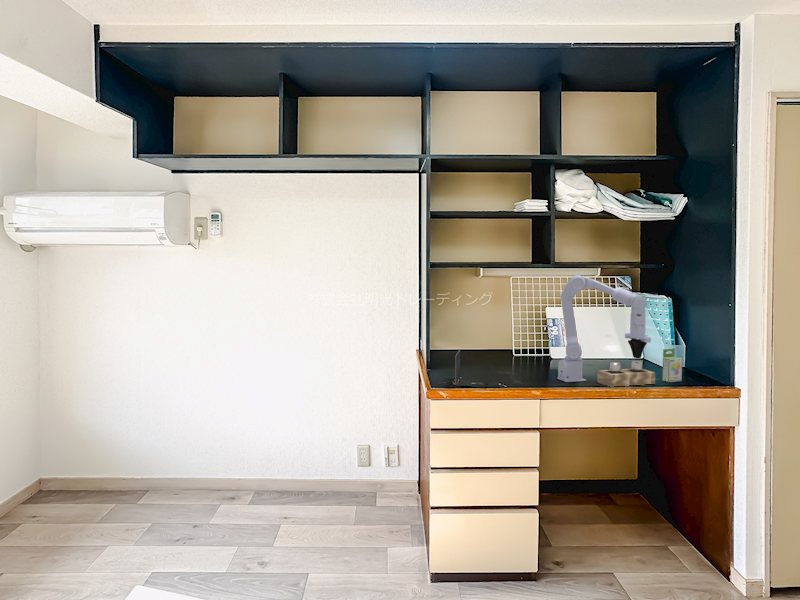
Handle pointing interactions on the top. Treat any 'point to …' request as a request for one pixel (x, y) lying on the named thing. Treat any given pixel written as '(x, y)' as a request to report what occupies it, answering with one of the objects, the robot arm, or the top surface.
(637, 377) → the maple peg block
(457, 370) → the laptop
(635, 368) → the right steel peg
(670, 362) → the ink box
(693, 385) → the top surface
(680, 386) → the top surface
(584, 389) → the top surface
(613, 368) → the left steel peg
